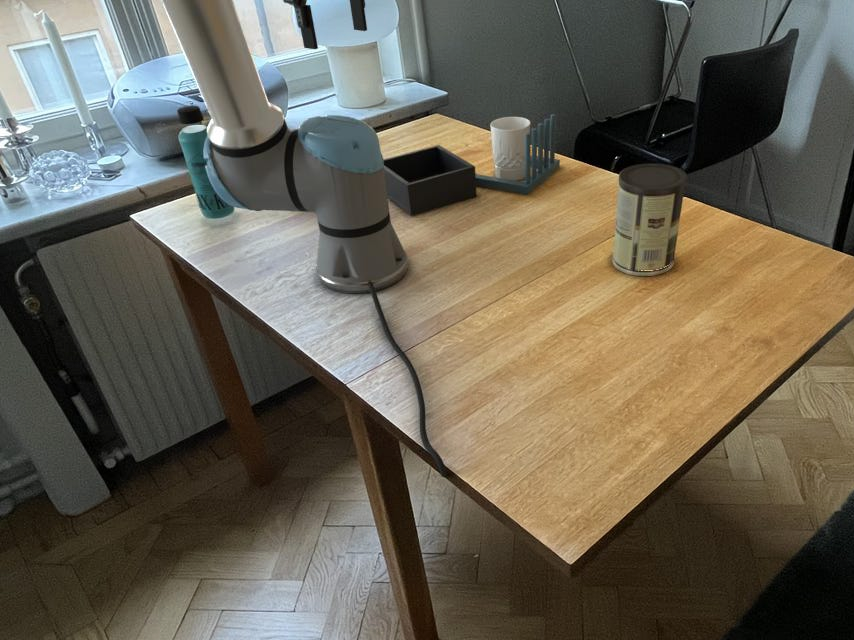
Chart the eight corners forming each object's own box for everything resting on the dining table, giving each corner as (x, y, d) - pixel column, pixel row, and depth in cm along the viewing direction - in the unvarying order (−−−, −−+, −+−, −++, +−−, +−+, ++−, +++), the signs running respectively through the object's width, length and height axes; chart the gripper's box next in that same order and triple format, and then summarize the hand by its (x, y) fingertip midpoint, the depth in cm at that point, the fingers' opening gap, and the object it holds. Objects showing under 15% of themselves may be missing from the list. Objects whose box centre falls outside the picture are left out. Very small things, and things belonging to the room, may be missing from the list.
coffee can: (646, 242, 126) (657, 157, 116) (686, 265, 119) (701, 178, 109) (598, 258, 122) (605, 172, 112) (637, 283, 116) (647, 194, 106)
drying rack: (559, 167, 151) (561, 112, 143) (527, 195, 142) (527, 137, 134) (504, 158, 156) (503, 105, 148) (470, 184, 147) (467, 129, 139)
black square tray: (476, 196, 143) (475, 166, 138) (411, 216, 138) (407, 185, 134) (441, 173, 152) (438, 144, 147) (378, 191, 147) (374, 161, 143)
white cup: (531, 167, 152) (531, 116, 144) (529, 182, 146) (529, 130, 139) (493, 168, 152) (492, 116, 145) (490, 183, 147) (488, 130, 140)
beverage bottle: (201, 217, 142) (165, 105, 128) (235, 209, 144) (202, 99, 129) (207, 229, 138) (170, 116, 123) (242, 222, 139) (209, 109, 125)
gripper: (345, -121, 127) (365, 21, 142) (239, -101, 113) (273, 54, 128) (378, -121, 124) (394, 24, 139) (273, -100, 110) (304, 58, 125)
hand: (336, 39), depth 134 cm, fingers open, 13 cm apart
